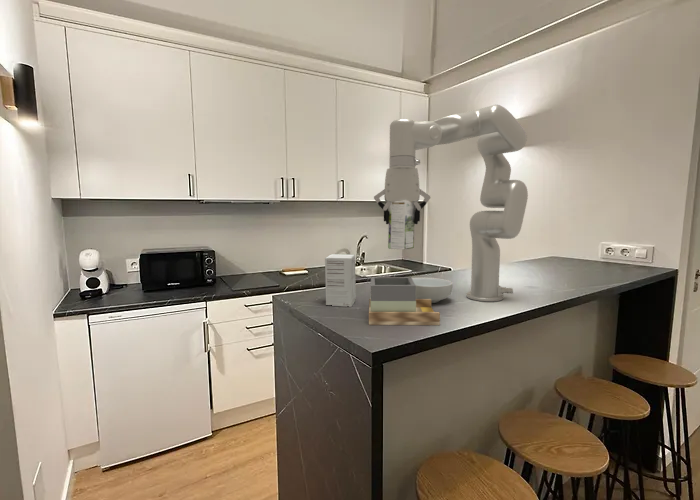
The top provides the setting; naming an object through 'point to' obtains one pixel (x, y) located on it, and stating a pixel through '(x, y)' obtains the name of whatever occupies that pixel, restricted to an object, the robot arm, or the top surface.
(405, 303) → the crate
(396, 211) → the syrup box
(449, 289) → the cereal bowl
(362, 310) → the top surface
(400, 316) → the bay
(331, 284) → the supplement box
